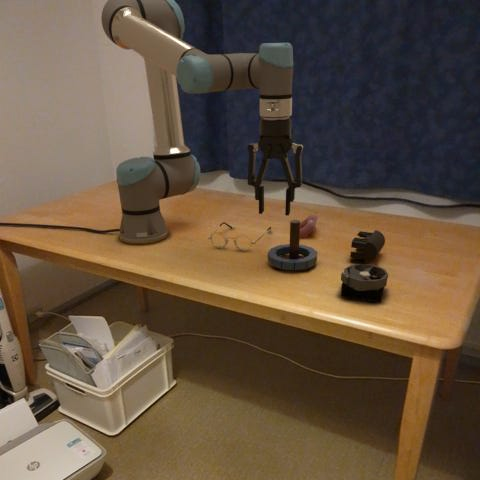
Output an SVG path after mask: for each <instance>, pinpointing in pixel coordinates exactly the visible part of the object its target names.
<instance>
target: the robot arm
mask: <svg viewBox="0 0 480 480" xmlns="http://www.w3.org/2000/svg"><path fill="white" fill-rule="evenodd" d="M101 26H102V29H103V32H104V34H105V35H106V37H107V38H108V39H109V40H110V41H111V42H112V43H113V44H114V45H116V46H118V47H120V48H121V49H122V50H132V51H134V52H136V53H137V54H139V55H140V56H141V57H142V58H143V61H144V67H145V73H146V75H145V76H146V81H147V88H148V93H149V102H150V108H151V109H150V110H151V115H152V122H153V123H152V124H153V129H154V135H155V143H156V148H155V149H154V151H153V152H152V156H153V157H151V156H139V157H132V158H129V159H126V160H123V161H122V162H120V163H119V164H118V165H117V167H116V170H115V171H116V173H115V174H116V184H117V188H118V189H117V190H118V194H119V195H118V196H119V201H120V207H121V220H120V226H119V228H113V229H105V230H103V229H102V230H101V229H93V228H89V227H81V226H70V225H55V224H37V223H35V224H34V223H20V222H19V223H16V222H15V223H14V222H0V226H15V227H16V226H18V227H34V228H35V227H36V228H37V227H38V228H39V227H40V228H52V229H65V230H66V229H67V230H68V229H69V230H80V231H87V232H92V233H99V234H107V233H113V232H114V233H116V232H119V233H118V235H119V239H120V241H121V242H122V243H125V244H129V245H140V246H141V245H150V244H156V243H158V242H161V241H164V240H165V239H167V238H168V237H169V228H168V225H167V223H166V221H165V219H164V216H163V214H162V212H161V207H160V201H161V200H165V199H168V198H173V197H176V196H183V195H186V194H188V193H191V192H193V191H194V190H196V188H197V187H198V186H199V183H200V181H201V166H200V163H199V161H198V159H197V157H196V156H194V155H193V154H192V153H191V148H190V147H188V146H187V145H186V142H185V136H184V135H185V134H184V128H183V119H182V111H181V110H182V109H181V102H180V95H179V94H180V93H179V86H180V89H181V90H182V91H183V92H184V93H186V94H197V95H203V94H207V93H215V92H224V91H236V90H245V89H246V90H259V116H260V119H259V139H258V141H257V142H254V143H253V142H250V143H249V144H248V145H247V147H246V148H247V153H248V155H249V156H248V168H247V169H248V170H247V185H248V186H252V187H253V188H254V200H255V201H258V215H263V213H264V212H265V186H264V185H262V184H263V180H264V176H265V174H266V171H267V167H268V165H269V161H270V160H272V159H275V160H279V161H280V164H281V166H282V170H283V173H284V176H285V179H286V183H287V186H288V187H287V188H286V189H285V213H284V214H285V216H289V215H290V213H291V203H293V202H294V201H295V199H296V198H295V197H296V195H295V194H296V189H297V188H301V186H302V185H303V162H302V159H303V158H302V153H303V151H304V145H303V144H302V143H300V144H298V143H295V142H294V141H293V139H292V119H291V118H290V117H291V116H292V115H293V78H294V77H293V75H294V47H293V45H292V44H291V43H290V42H268V43H267V42H265V43H264V42H263V43H261V44H260V45H259V52H258V53H256V52H255V53H254V52H253V53H251V52H234V53H224V54H223V53H222V54H221V53H220V54H219V53H217V54H208V53H205V52H203V51H202V50H200V49H198V48H197V47H195V46H193V45H191V44H189V43H187V42H186V41H185V40H183V38H184V33H185V29H186V28H185V19H184V15H183V12H182V10H181V8H180V6H179V4H178V3H177V2H176V1H175V0H107V1H106V3H105V4H104V5H103V7H102V11H101ZM178 85H179V86H178ZM259 149H260V151H261V152H262V154H263V156H262V159H261V163H260V167H259V170H258V173H257V176H256V162H257V152H258V150H259ZM291 149H292V153H293V154H294V170H295V177H294V176H293V172H292V169H291V165H290V162H289V157H288V153H289V151H290V150H291Z"/></svg>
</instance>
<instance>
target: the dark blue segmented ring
mask: <svg viewBox="0 0 480 480" xmlns="http://www.w3.org/2000/svg"><path fill="white" fill-rule="evenodd" d="M289 245H290V243H285V244H279V245H275V246H273V247H270V248H269V250H268V251H267V262H268V263H269V264H270V266H272V267H274V268H276V267H277V268H280V269H279V270H288V271H298V270H301V269H306V268H307V269H309V268H311V267H313V266H315V265H316V264H317V262H318V251H317V250H316V249H315V248H313V247H311V246H308V245H305V244H299V256H306V257H305V258H303V259H295V260H293V259H284V258H281V256H282V255H285V254H286V255H289Z"/></svg>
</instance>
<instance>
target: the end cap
mask: <svg viewBox="0 0 480 480" xmlns="http://www.w3.org/2000/svg"><path fill="white" fill-rule="evenodd" d="M356 236H357V237H354V238H353V239H352V240H351V244H350V248H353V249H355V251H350V254H349V256H350V260H349V261H350V263H352V264H369V265H370V263H373V261H375V260H376V259H377V257H378V256H379V254H380V252H381V251H382V249H383V248H384V246H385V245H386V238H385V236H384V234H383V232H381V231H380V230H378V229H377V230H376V229H375V230H374V231H373V232H369V231H361V230H359V231H358V233H357V235H356Z"/></svg>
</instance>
